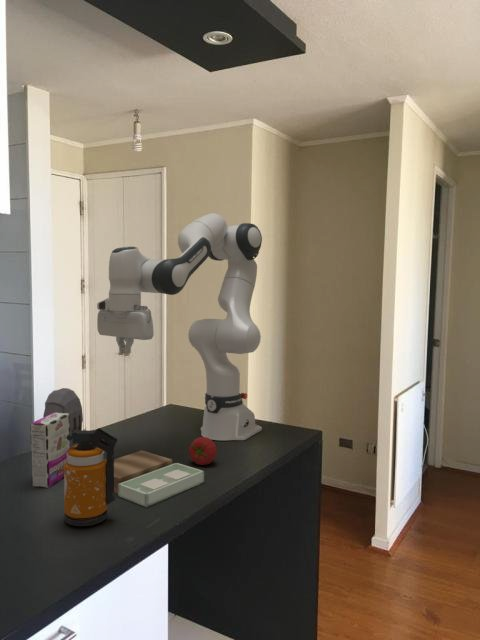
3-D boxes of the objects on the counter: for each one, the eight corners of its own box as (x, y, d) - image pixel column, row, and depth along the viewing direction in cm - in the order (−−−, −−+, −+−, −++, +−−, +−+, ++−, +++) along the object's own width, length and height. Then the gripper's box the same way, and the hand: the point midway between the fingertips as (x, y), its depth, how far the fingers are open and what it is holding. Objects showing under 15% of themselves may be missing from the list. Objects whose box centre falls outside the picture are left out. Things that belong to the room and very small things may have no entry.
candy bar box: (54, 471, 148) (53, 411, 146) (71, 473, 147) (70, 413, 145) (30, 486, 137) (29, 422, 135) (48, 488, 136) (47, 423, 134)
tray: (176, 473, 148) (176, 462, 147) (204, 482, 141) (204, 471, 141) (117, 496, 132) (117, 484, 132) (146, 507, 126) (146, 494, 125)
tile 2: (190, 473, 139) (190, 483, 139) (176, 469, 142) (176, 478, 142) (177, 479, 135) (177, 489, 135) (162, 474, 138) (162, 484, 138)
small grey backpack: (65, 446, 169) (64, 382, 168) (90, 448, 168) (90, 384, 166) (39, 462, 155) (38, 392, 153) (66, 464, 153) (65, 394, 152)
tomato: (207, 430, 159) (196, 432, 152) (225, 449, 157) (215, 452, 149) (190, 449, 160) (178, 452, 153) (207, 469, 158) (196, 473, 150)
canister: (70, 511, 123) (69, 424, 121) (119, 510, 124) (119, 423, 122) (59, 529, 114) (58, 435, 113) (113, 528, 115) (113, 435, 113)
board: (141, 464, 154) (141, 450, 154) (172, 474, 147) (172, 459, 147) (89, 482, 140) (88, 467, 140) (119, 494, 133) (119, 478, 133)
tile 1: (169, 483, 133) (169, 493, 133) (155, 478, 136) (155, 488, 136) (154, 489, 129) (154, 499, 129) (139, 484, 132) (139, 494, 132)
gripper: (159, 305, 150) (158, 355, 151) (110, 302, 162) (110, 349, 163) (141, 306, 145) (141, 358, 146) (93, 303, 157) (93, 351, 158)
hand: (124, 353), depth 155 cm, fingers closed
